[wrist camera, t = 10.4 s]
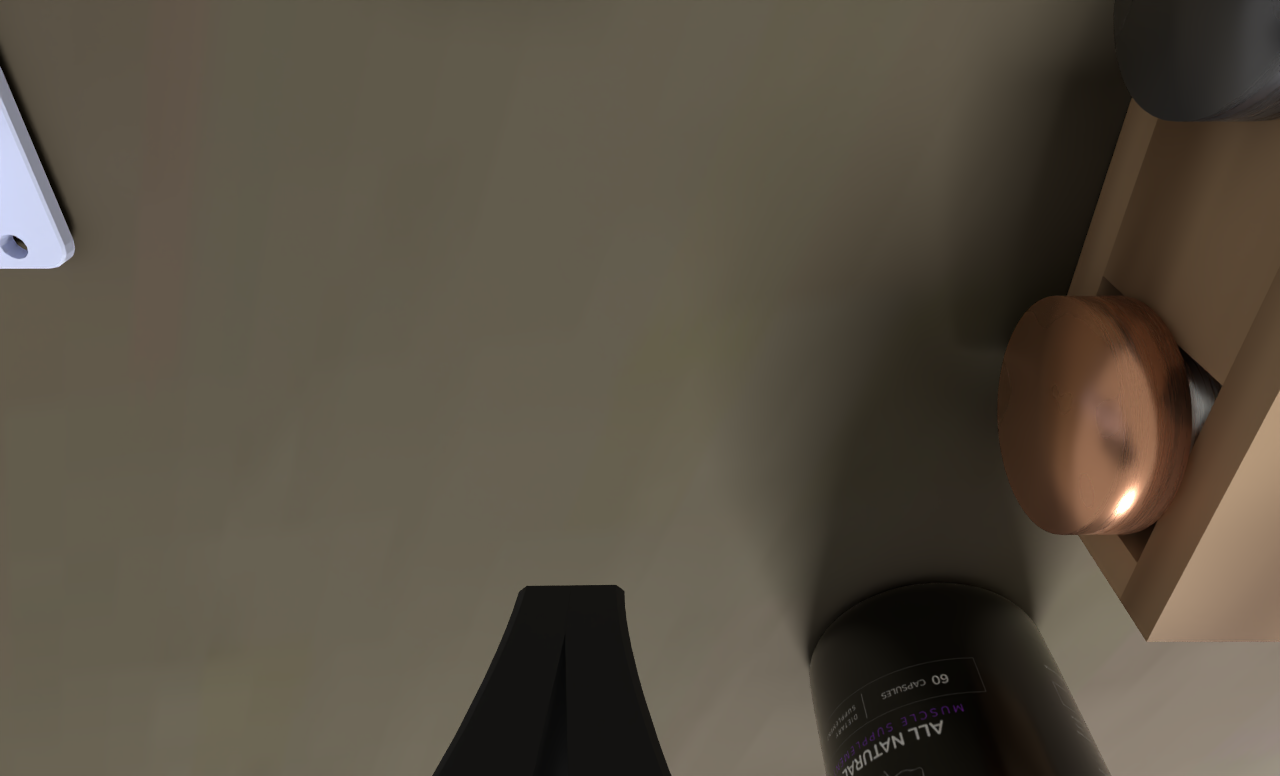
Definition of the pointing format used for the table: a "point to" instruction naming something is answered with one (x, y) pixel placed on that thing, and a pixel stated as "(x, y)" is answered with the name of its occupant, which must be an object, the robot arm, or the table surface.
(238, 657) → the table surface
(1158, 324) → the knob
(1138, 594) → the catch block
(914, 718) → the supplement bottle
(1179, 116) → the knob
